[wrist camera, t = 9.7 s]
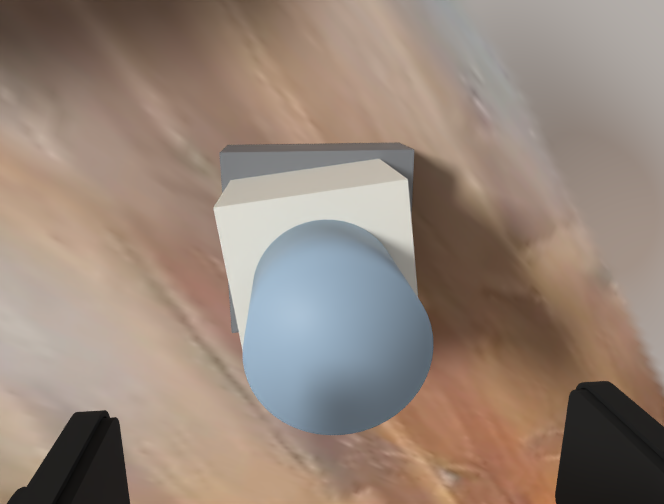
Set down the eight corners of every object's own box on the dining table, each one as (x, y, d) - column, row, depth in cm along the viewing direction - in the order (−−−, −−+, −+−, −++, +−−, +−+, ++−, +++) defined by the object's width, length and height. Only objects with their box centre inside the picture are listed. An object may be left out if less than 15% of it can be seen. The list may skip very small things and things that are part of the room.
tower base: (392, 296, 31) (407, 325, 27) (238, 302, 30) (231, 332, 26) (397, 141, 28) (414, 149, 25) (228, 144, 28) (219, 152, 24)
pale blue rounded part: (396, 351, 21) (429, 428, 16) (256, 359, 20) (248, 441, 16) (399, 217, 19) (437, 258, 14) (248, 222, 19) (236, 266, 14)
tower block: (393, 295, 27) (422, 351, 21) (256, 317, 26) (248, 380, 21) (379, 158, 25) (407, 179, 19) (230, 180, 24) (213, 207, 19)
